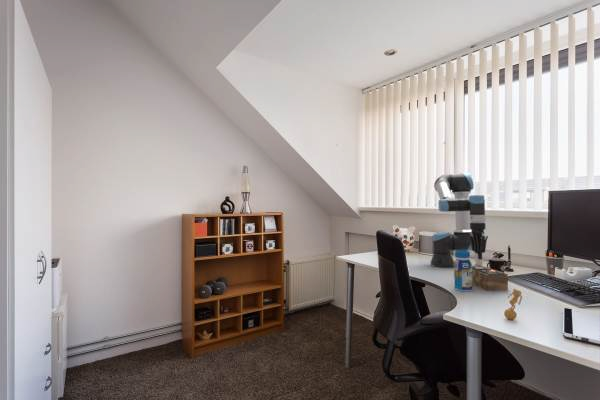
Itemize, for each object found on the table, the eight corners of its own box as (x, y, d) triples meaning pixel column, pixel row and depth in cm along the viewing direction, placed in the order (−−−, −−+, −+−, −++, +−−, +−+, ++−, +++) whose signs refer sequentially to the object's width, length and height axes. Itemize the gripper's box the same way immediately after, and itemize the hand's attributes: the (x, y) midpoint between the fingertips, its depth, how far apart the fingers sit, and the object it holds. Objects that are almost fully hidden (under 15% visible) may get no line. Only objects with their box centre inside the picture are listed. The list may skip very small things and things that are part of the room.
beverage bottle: (455, 286, 164) (454, 249, 164) (473, 288, 159) (472, 250, 159) (453, 290, 157) (451, 251, 157) (471, 292, 152) (470, 253, 152)
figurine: (499, 315, 123) (498, 285, 123) (516, 315, 122) (515, 285, 122) (510, 323, 115) (509, 291, 115) (528, 324, 114) (526, 292, 114)
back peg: (473, 278, 171) (473, 264, 171) (480, 278, 172) (479, 264, 172) (478, 280, 167) (477, 265, 167) (485, 279, 168) (484, 265, 168)
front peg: (486, 285, 161) (485, 269, 161) (493, 284, 162) (492, 269, 162) (491, 287, 157) (491, 271, 157) (498, 286, 158) (498, 271, 158)
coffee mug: (500, 274, 187) (500, 257, 187) (509, 277, 178) (508, 260, 178) (480, 274, 188) (480, 258, 188) (488, 277, 179) (487, 260, 179)
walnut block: (465, 281, 173) (465, 266, 173) (483, 280, 174) (483, 265, 174) (488, 290, 155) (487, 274, 155) (508, 289, 156) (507, 272, 156)
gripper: (463, 221, 176) (465, 262, 175) (479, 223, 163) (480, 267, 162) (475, 221, 176) (477, 262, 176) (492, 222, 163) (493, 266, 163)
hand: (478, 264), depth 169 cm, fingers closed
